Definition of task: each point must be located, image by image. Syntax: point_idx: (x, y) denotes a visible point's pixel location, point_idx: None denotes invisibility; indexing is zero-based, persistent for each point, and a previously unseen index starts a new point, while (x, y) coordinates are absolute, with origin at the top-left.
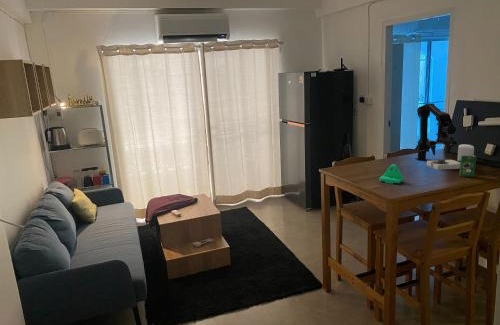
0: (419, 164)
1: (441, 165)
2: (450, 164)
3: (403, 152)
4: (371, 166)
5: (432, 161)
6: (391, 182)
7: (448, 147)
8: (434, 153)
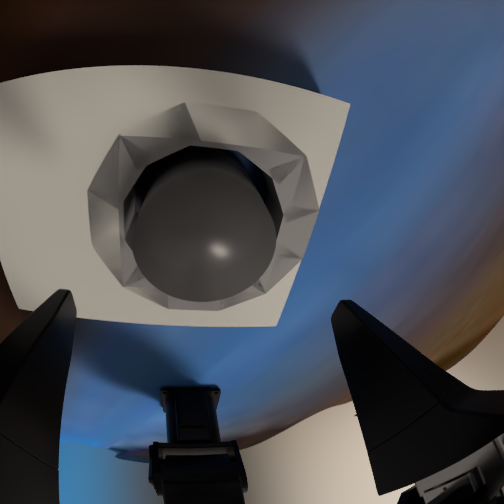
0: (299, 320)
1: (295, 87)
2: (137, 77)
3: None
4: (477, 307)
5: (244, 298)
6: None
7: (16, 444)
8: (371, 322)
